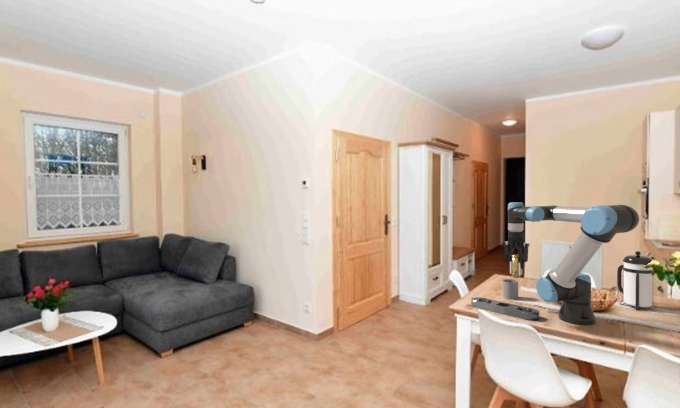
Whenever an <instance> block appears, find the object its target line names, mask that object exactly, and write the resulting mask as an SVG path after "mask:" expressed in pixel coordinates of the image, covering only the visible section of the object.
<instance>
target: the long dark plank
mask: <svg viewBox="0 0 680 408" xmlns="http://www.w3.org/2000/svg"><path fill="white" fill-rule="evenodd" d="M470 299H471V302H470V303H471V304H470V305H472V306H473V307H472V306H471V307H472V308H475V307H476V308H475V309H479V308H480V309H481V310H484V311H487V312H488V311H489V312H493V313H496V314H501V315H504V316H509V317H513V318H517V319H521V320H525V321H531V322H532V321H535V322H536V321H539V320H540V310H538V309H535V308H532V307H527V306H523V305H520V304H519V305H518V304H513V303H509V302H504V301H501V300H497V299H496V300H495V299H491V298H486V297H480V296H479V297H477V296H476V297H472V298H470Z"/></svg>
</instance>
